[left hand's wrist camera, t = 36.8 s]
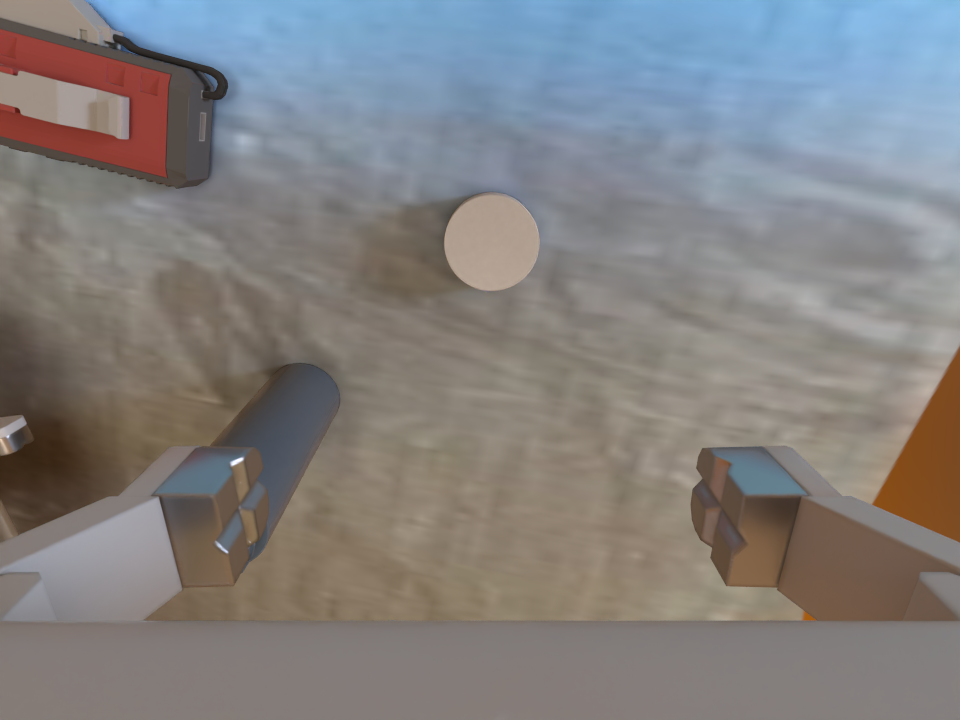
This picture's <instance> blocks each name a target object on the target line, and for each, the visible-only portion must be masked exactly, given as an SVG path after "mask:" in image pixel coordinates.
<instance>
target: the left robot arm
mask: <svg viewBox="0 0 960 720" xmlns="http://www.w3.org/2000/svg"><path fill="white" fill-rule="evenodd" d="M263 469H264V467H263V462H262V458H261V453H260V452H259V451H258V449H257V448H256V447H216V446H202V447H201V446H175V447H169V448H168V449H167V450H165V451H164V452H163V453H162V454H161V455H160V456H159V457H158V458H157V459H156V460H155V461H154V462H153V463H152V464H151V465H150V466H149V467H148V468H147V469H146V470H145V471H144V472H143V473H141V474H140V475H139V476H138V477H137V478H136V479H135V480H134V481H133V482H132V483H131V484H130V485H129V486H128V487H127V488H126V489H125V490H124V491H123V492H122V493H121V494H120V495H119V496H108V497H106V498H103V499H101V500H99V501H96V502H94V503H92V504H89V505H87V506H85V507H82V508H80V509H78V510H75V511H73V512H71V513H68V514H66V515H64V516H61V517H59V518H57V519H54V520H52V521H50V522H47V523H45V524H43V525H40V526H38V527H36V528H33V529H31V530H29V531H26V532H24V533H22V534H19V535H17V536H15V537H12V538H10V539H8V540H5V541H3V542H1V543H0V720H960V543H959V542H957V541H954V540H952V539H950V538H947V537H945V536H943V535H940V534H938V533H936V532H933V531H931V530H929V529H926V528H924V527H922V526H919V525H917V524H915V523H912V522H910V521H908V520H905V519H903V518H901V517H898V516H896V515H894V514H891V513H889V512H887V511H884V510H882V509H880V508H878V507H875V506H873V505H871V504H868V503H866V502H864V501H861V500H859V499H857V498H854V497H852V496H842V495H840V494H839V493H838V492H837V491H836V490H835V489H834V488H833V487H832V486H831V485H830V484H829V483H828V482H827V481H826V480H825V479H824V478H823V477H822V476H821V475H820V474H819V473H818V472H817V471H816V470H814V469H813V468H812V467H811V466H810V465H809V464H808V463H807V462H806V461H805V460H804V459H803V458H802V457H801V456H800V455H799V454H798V453H797V452H796V451H795V450H794V449H793V448H790V447H787V446H759V447H718V448H702V450H701V452H700V454H699V456H698V462H697V467H696V469H697V470H698V472H699V473H700V475H701V476H702V478H703V479H702V480H701V481H700V482H699V483H698V484H697V485H696V486H695V487H694V488H693V490H692V498H691V514H692V521H693V524H694V528H695V531H696V532H697V534H698V536H699V538H700V540H701V541H703V542H704V543H706V544H707V545H709V546H710V547H712V552H711V560H712V561H713V563H714V565H715V567H716V569H717V570H718V572H719V574H720V576H721V577H722V579H723V581H724V583H725V584H726V586H741V587H778V588H777V590H778V591H780V592H781V593H782V594H783V595H785V596H786V597H787V598H789V599H790V600H791V601H792V602H794V603H795V604H796V605H798V606H799V607H800V608H802V609H803V610H804V611H805V612H807V613H808V614H809V615H811V616H812V617H813V618H815V619H816V620H817V621H143V620H144V619H146V618H147V617H148V616H150V615H151V614H152V613H153V612H155V611H156V610H157V609H159V608H160V607H161V606H163V605H164V604H165V603H166V602H168V601H169V600H170V599H172V598H173V597H174V596H176V595H177V594H178V593H179V592H181V591H182V590H183V589H182V587H217V586H234V584H235V583H236V581H237V579H238V577H239V576H240V574H241V572H242V570H243V569H244V567H245V565H246V563H247V561H248V560H249V552H248V547H250V546H251V545H253V544H254V543H256V542H257V541H259V540H260V538H261V536H262V534H263V532H264V530H265V528H266V524H267V520H268V515H269V497H268V490H267V488H266V487H265V486H264V485H263V484H262V483H261V482H260V481H259V480H258V479H257V478H258V476H259V475H260V473H261V472H262V470H263Z"/></svg>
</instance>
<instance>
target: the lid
mask: <svg viewBox="0 0 960 720" xmlns="http://www.w3.org/2000/svg"><path fill="white" fill-rule="evenodd" d="M444 250H445V255H446V258H447V261H448V263H449V265H450V267H451V269H452V270H453V272H454V273H455V274H456V275H457V277H458V278H460V279H461V280H462V281H463V282H465V283H466V284H468V285H470V286H472V287H474V288H477V289H480V290H486V291H497V290H503V289H506V288H509V287H511V286H513V285H515V284H517V283H518V282H520V281H521V280H522V279H523V278H524V277H525V276H526V275H527V274H528V273H529V272H530V270H531V269H532V267H533V266H534V264H535V262H536V259H537V256H538V252H539V232H538V229H537V226H536V223H535V221H534V219H533V217H532V216H531V214H530V213H529V211H528V210H527V209H526V208H525V207H524V206H523V205H522V204H521V203H520V202H519V201H518V200H516V199H514V198H513V197H511V196H508V195H506V194H502V193H496V192H486V193H481V194H477V195H474V196H472V197H470V198H468V199H467V200H465V201H464V202H463V203H462V204H461V205H459V206H458V208H457V209H456V210H455V211H454V213H453V214H452V216H451V218H450V220H449V222H448V225H447V228H446V231H445V236H444Z"/></svg>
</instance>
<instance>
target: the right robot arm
mask: <svg viewBox="0 0 960 720" xmlns="http://www.w3.org/2000/svg"><path fill="white" fill-rule="evenodd" d="M33 440H34V438H33V435H32V433H31V431H30V429H29V427H28V425H27V423H26V420H25V418H24V416H23V415H15V416H7V417H0V456H2V455H7V454H11V453H14V452H16V451H18V450H20V449H21V448H23V445H24V444H29V443H31V442H32V441H33ZM17 535H19V533H18V531H17V529H16V527H15V526H14V524H13V522H12V520H11V518H10V516H9V514H8V513H7V511H6V509H5V507H4V505H3V503H2V501H1V499H0V543H1V542H3V541H5V540H8V539H10V538H12V537H15V536H17Z"/></svg>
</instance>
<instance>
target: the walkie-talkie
mask: <svg viewBox="0 0 960 720" xmlns="http://www.w3.org/2000/svg"><path fill="white" fill-rule="evenodd" d="M121 45H123V46H124V47H126V48H127V49H128V50H129V51H131V52H133V53H136V54H138V55H136V54H132V53H128V52H125V51H121ZM139 55H140V56H139ZM143 56H144V57H143ZM154 59H155V60H154ZM158 60H159V61H158ZM169 63H170V64H169ZM176 65H177V66H176ZM180 66H181V67H180ZM184 67H185V68H184ZM191 69H192V70H191ZM195 70H196V71H195ZM199 71H200V72H199ZM204 73H207V74H209V75H211V76H213V77H214V78H215V79H216V80H217V83H218V86H217V89H216V90H215V91H214V87H213V85H212V84H211V83H210V81H209V80H208V79H207V77H206V76H205V75H204ZM227 89H228V83H227V80H226V78H225V77H224V75H223V74H222V73H220V72H219V71H217V70H215V69H214V68H212V67H208V66H205V65H201V64H197V63H193V62H190V61H186V60H182V59H179V58H175V57H171V56H167V55H164V54H160V53H156V52H153V51H150V50H146V49H143V48H140V47H138V46H136V45H135V44H134V43H132V42H131V41H130V40H129V39H127V38H125V37H123V33H122V32H119V31H116V30H112V28H111V27H110V26H109V25H108V24H107V23H106V22H105V21H104V20H103V19H102V18H101V17H100V15H99V14H98V13H97V12H96V11H95V10H94V9H93V8H92V7H91V6H90V5H89V4H88V3H87V2H86V1H85V0H0V145H4V146H8V147H9V148H11V149H15V150H19V151H23V152H32V153H36V154H40V155H44V156H46V157H47V158H51V159H55V160H59V161H68V162H78V164H80V165H88V166H89V167H97V168H98V169H100V170H104V169H107V170H108V172H117V173H118V174H127V176H129V177H137V179H146V180H147V181H149V182H152V181H155V182H156V183H157V184H165V185H166V186H175V188H176V189H177V188H184V187H191V186H197V185H198V184H200V183H202V182H203V181H205V180H206V179H208V174H209V158H210V142H211V126H212V110H213V100H218V99H222V98H223V97H224V96H225V95H226V92H227Z"/></svg>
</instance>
